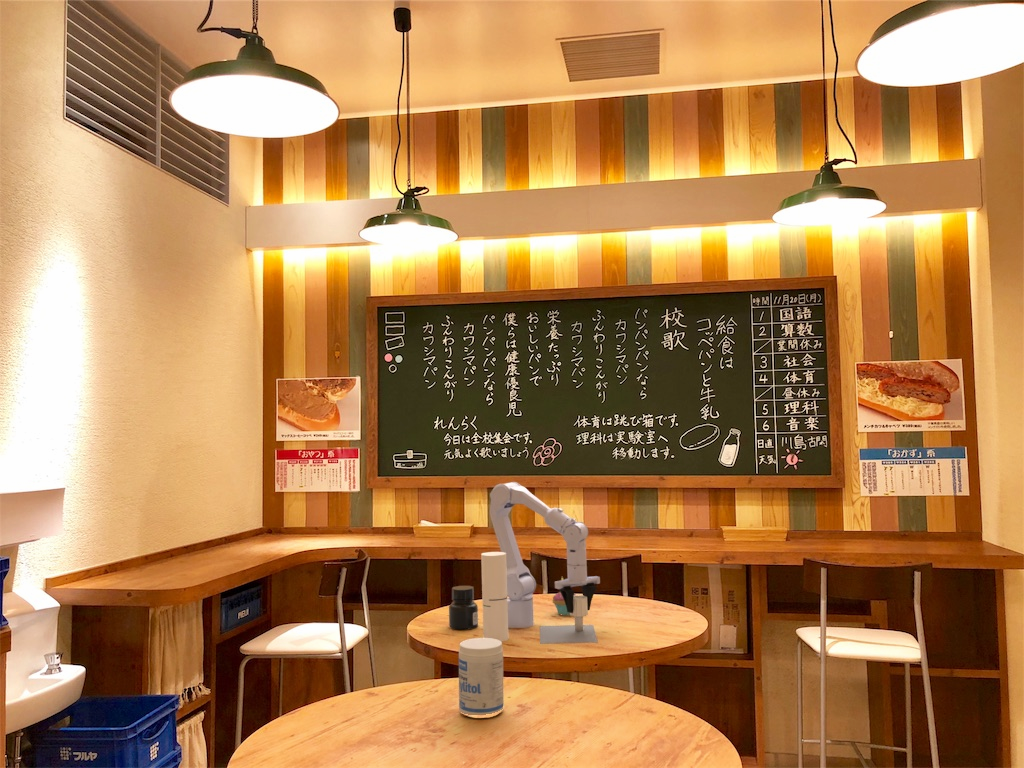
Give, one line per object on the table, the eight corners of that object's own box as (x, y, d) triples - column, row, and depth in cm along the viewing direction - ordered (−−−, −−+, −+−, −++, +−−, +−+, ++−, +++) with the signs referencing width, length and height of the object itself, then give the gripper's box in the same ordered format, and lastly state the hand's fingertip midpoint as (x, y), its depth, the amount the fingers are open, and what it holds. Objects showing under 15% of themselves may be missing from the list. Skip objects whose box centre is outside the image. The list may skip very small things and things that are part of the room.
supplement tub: (451, 717, 170) (449, 646, 171) (472, 703, 179) (470, 635, 180) (492, 723, 166) (490, 650, 167) (511, 708, 175) (509, 639, 176)
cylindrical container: (505, 646, 225) (503, 555, 227) (480, 645, 227) (478, 555, 228) (510, 639, 232) (508, 551, 234) (486, 638, 234) (484, 551, 235)
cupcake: (548, 612, 265) (547, 575, 266) (571, 609, 268) (569, 573, 269) (560, 617, 257) (559, 579, 258) (583, 614, 261) (582, 577, 261)
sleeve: (575, 617, 234) (575, 599, 234) (566, 613, 238) (566, 596, 238) (591, 614, 236) (590, 597, 236) (581, 611, 240) (581, 594, 241)
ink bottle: (482, 628, 246) (481, 589, 247) (454, 632, 243) (453, 591, 243) (472, 622, 255) (471, 583, 256) (445, 625, 252) (444, 586, 252)
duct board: (540, 647, 223) (539, 626, 223) (540, 629, 243) (539, 610, 243) (598, 645, 223) (597, 625, 223) (593, 628, 243) (592, 609, 243)
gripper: (562, 568, 231) (564, 616, 230) (605, 563, 238) (606, 610, 237) (550, 565, 237) (552, 612, 236) (591, 560, 244) (593, 605, 243)
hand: (578, 610), depth 237 cm, fingers closed on sleeve, 5 cm apart
